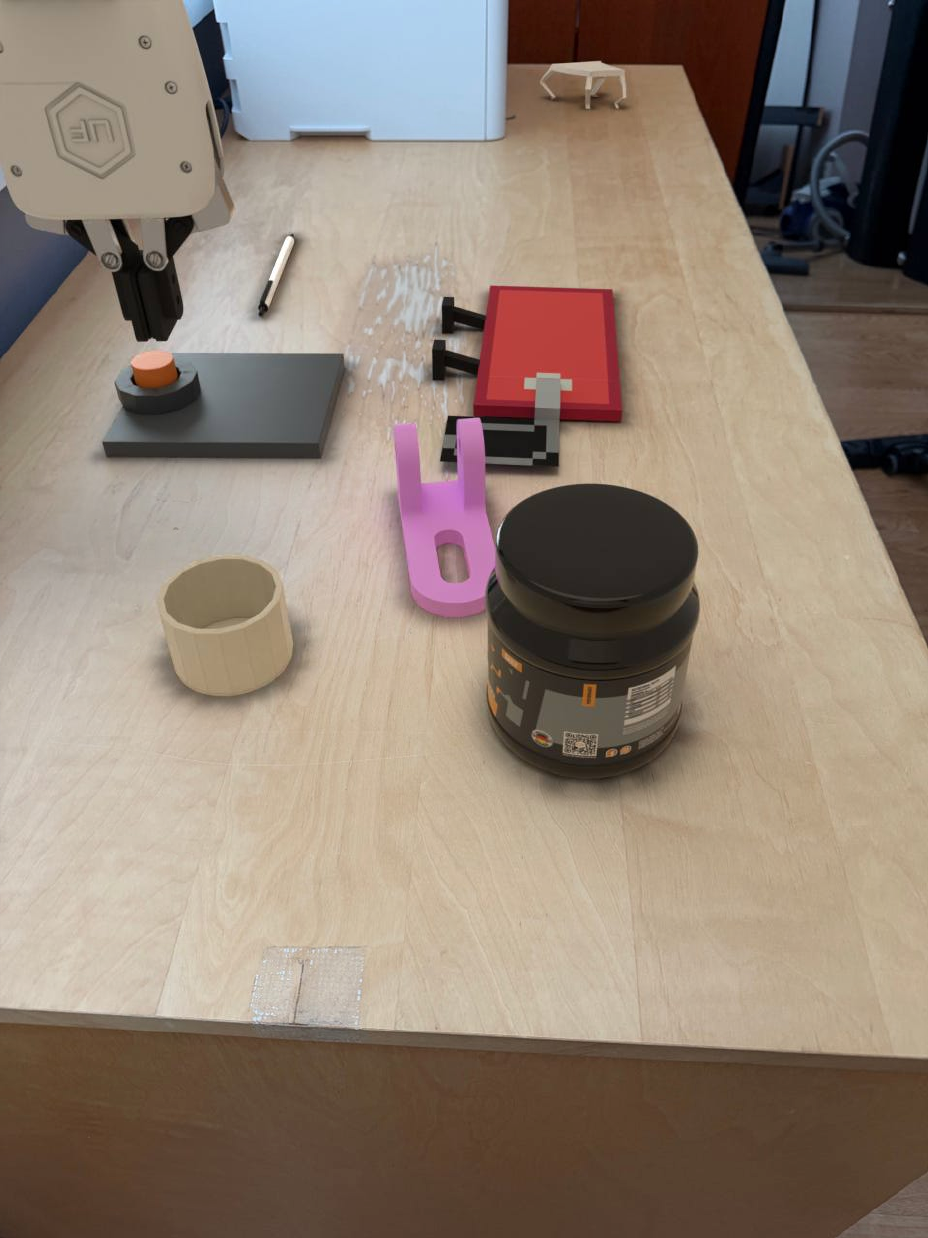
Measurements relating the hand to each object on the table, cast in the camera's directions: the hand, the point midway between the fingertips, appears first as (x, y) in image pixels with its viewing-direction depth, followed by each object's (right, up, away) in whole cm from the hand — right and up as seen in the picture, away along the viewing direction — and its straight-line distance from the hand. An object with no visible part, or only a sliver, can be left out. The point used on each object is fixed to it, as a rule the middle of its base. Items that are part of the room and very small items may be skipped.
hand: (158, 330), depth 58 cm
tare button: (-7, +2, +22) cm, 23 cm away
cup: (+4, -19, +2) cm, 19 cm away
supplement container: (+24, -22, -1) cm, 32 cm away
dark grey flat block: (-1, 0, +24) cm, 24 cm away
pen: (-1, +17, +43) cm, 46 cm away
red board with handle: (+22, +4, +27) cm, 35 cm away
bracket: (+16, -12, +9) cm, 22 cm away
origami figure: (+33, +55, +85) cm, 107 cm away
